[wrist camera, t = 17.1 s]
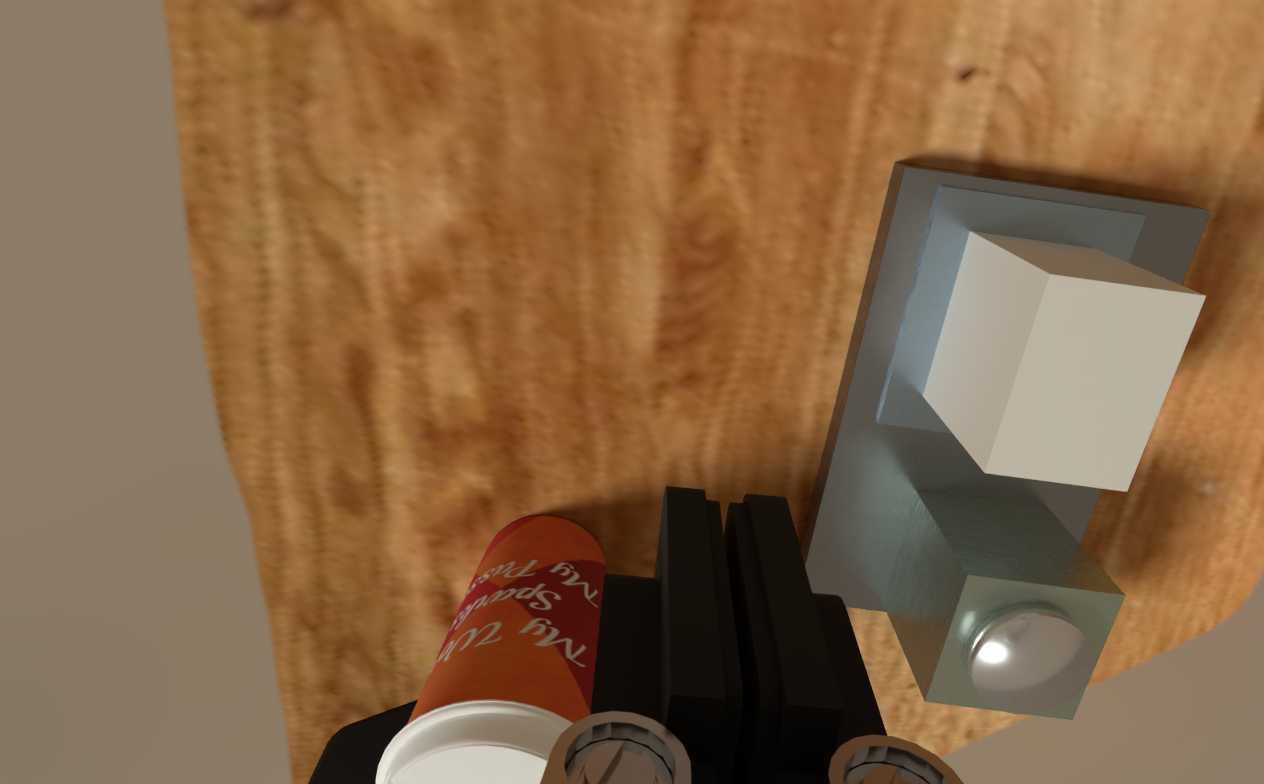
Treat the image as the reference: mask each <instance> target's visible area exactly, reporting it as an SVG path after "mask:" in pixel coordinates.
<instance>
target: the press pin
mask: <svg viewBox="0 0 1264 784" xmlns="http://www.w3.org/2000/svg"><path fill="white" fill-rule="evenodd" d="M964 662H965V667H966V669H967V672H968V674H969V676H970V678H971V679H972V681H973V683H974V685H975V687H976V689H977V691H978V693H979V694H980V696H981V697H982V698H983V699H984V700H985V701H986V702H987V703H989V704H990V705H991V706H993V707H995V708H997V709H999V710H1001V711H1005V712H1008V713H1014V714H1035V713H1041V712H1045V711H1048V710H1051V709H1054V708H1056V707H1059V706H1061V705H1062V704H1064V703H1066V702H1068V701H1069V700H1070V699H1072V698H1073V697H1074V696H1075V695H1077V694H1078V693H1079V692H1080V691H1081V690H1082V688H1083V687H1084V686H1085V685H1086V683H1087V682H1088V680H1089V678H1090V676H1091V673H1092V670H1093V666H1094V653H1093V649H1092V646H1091V644H1090V642H1089V640H1088V639H1087V638H1086V636H1085V635H1084V634H1083V632H1082V631H1081V630H1080V628H1079V627H1078V626H1077V624H1076V623H1075V622H1074V620H1073V619H1072V618H1071V617H1070V616H1069V615H1068V614H1067V613H1065V612H1064V611H1062V610H1060V609H1058V608H1056V607H1054V606H1051V605H1047V604H1042V603H1021V604H1015V605H1011V606H1008V607H1005V608H1002V609H1000V610H998V611H996V612H994V613H992V614H991V615H989V616H988V617H986V618H985V619H984V620H983V621H981V622H980V623H979V624H978V625H977V626H976V628H975V629H974V630H973V631H972V633H971V635H970V636H969V638H968V640H967V643H966V646H965V650H964Z"/></svg>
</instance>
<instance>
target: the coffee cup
mask: <svg viewBox="0 0 1264 784" xmlns="http://www.w3.org/2000/svg"><path fill="white" fill-rule="evenodd" d="M604 574H607V566H606V560H605V557H604V553H603V551H602V549H601V547H600V545H599V543H598V542H597V541H596V539H595V538H594V537H593V536H592V535H591V534H590V533H589V532H588V531H587V530H586V529H584V528H583V527H582V526H580V525H578V524H577V523H575V522H573V521H570V520H568V519H565V518H562V517H557V516H551V515H535V516H529V517H525V518H522V519H519V520H516V521H514V522H512V523H511V524H509V525H507V526H506V527H505V528H503V529H502V530H501V531H500V532H499V533H498V534H497V535H496V537H495V538H494V539H493V541H492V542H491V544H490V546H489V547H488V549H487V551H486V553H485V555H484V557H483V559H482V561H481V563H480V565H479V567H478V569H477V571H476V573H475V576H474V578H473V580H472V582H471V584H470V586H469V589H468V591H467V593H466V595H465V597H464V599H463V602H462V604H461V606H460V608H459V610H458V613H457V615H456V617H455V619H454V621H453V624H452V626H451V628H450V630H449V632H448V635H447V637H446V639H445V641H444V643H443V646H442V648H441V650H440V652H439V655H438V657H437V659H436V661H435V664H434V666H433V668H432V670H431V672H430V675H429V677H428V679H427V681H426V684H425V686H424V688H423V690H422V692H421V695H420V697H419V699H418V701H417V704H416V706H415V708H414V710H413V712H412V715H411V717H410V719H409V721H408V724H407V725H406V726H405V727H404V728H403V729H402V730H401V731H400V732H399V733H398V734H397V735H396V736H394V738H393V739H392V740H391V742H390V743H389V745H388V746H387V748H386V749H385V751H384V753H383V756H382V758H381V760H380V763H379V765H378V770H377V775H376V784H540V782H541V779H542V776H543V773H544V770H545V768H546V765H547V762H548V759H549V756H550V753H551V750H552V748H553V747H554V745H555V743H556V741H557V740H558V738H559V736H560V734H561V733H563V732H564V731H565V730H566V729H567V728H568V727H570V726H571V725H572V724H573V723H574V722H576V721H578V720H581V719H583V718H585V717H587V716H590V712H591V702H592V692H593V682H594V672H595V662H596V652H597V642H598V632H599V622H600V612H601V602H602V592H603V583H604Z"/></svg>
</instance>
